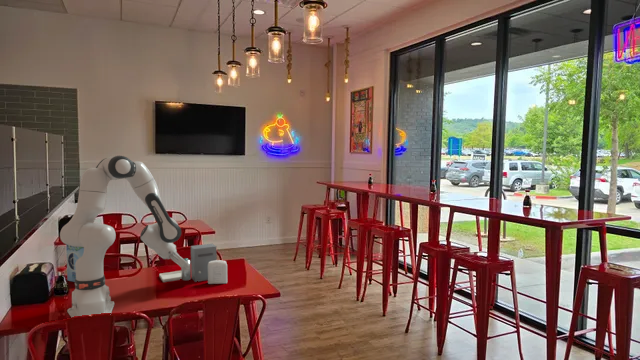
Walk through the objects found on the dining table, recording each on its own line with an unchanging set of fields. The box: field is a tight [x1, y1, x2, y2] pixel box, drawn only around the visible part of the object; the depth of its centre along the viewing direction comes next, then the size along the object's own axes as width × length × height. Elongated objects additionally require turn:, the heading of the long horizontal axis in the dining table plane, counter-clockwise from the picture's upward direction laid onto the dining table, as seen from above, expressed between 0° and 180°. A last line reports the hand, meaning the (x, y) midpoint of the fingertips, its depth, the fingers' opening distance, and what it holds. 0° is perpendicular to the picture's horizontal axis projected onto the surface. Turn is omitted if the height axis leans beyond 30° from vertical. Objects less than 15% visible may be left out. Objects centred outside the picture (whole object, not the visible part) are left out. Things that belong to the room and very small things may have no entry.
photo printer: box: [207, 259, 228, 285], centre depth 230 cm, size 10×4×12 cm, turn 98°
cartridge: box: [180, 257, 192, 281], centre depth 226 cm, size 5×5×11 cm
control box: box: [190, 243, 218, 283], centre depth 239 cm, size 9×12×18 cm
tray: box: [158, 270, 182, 283], centre depth 241 cm, size 12×14×2 cm
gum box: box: [65, 244, 84, 283], centre depth 233 cm, size 20×5×23 cm, turn 66°
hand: (187, 266), depth 227 cm, fingers closed on cartridge, 5 cm apart
